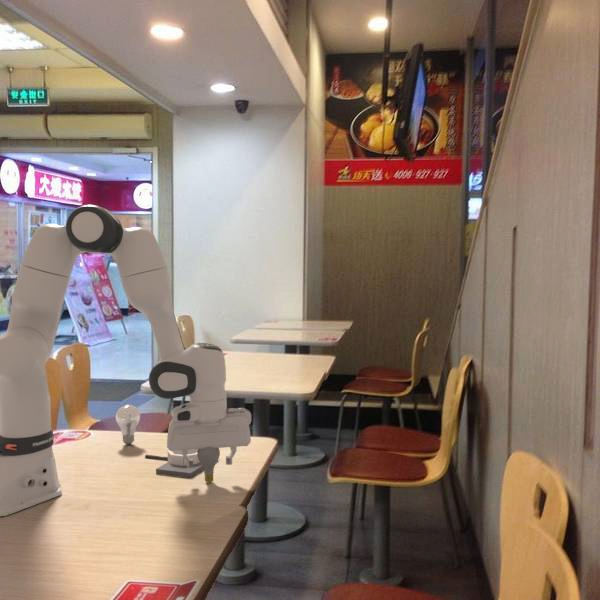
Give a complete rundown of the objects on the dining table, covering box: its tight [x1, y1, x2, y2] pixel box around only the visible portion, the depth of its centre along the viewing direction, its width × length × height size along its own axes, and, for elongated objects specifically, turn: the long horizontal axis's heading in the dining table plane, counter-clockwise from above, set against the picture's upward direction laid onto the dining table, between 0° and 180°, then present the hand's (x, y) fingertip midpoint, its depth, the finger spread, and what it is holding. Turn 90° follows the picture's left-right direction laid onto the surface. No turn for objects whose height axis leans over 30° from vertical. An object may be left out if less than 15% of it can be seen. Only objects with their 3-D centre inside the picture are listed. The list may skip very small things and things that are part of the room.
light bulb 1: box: [115, 404, 141, 446], centre depth 184 cm, size 7×7×12 cm
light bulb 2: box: [197, 447, 221, 484], centre depth 152 cm, size 6×6×10 cm
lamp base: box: [144, 449, 204, 479], centre depth 166 cm, size 15×20×4 cm
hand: (209, 465), depth 152 cm, fingers open, 8 cm apart
